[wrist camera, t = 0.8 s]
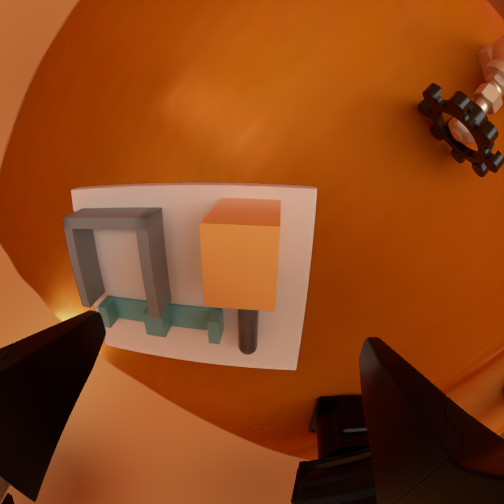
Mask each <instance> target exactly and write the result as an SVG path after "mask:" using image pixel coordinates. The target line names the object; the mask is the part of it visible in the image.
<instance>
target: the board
mask: <svg viewBox="0 0 504 504" xmlns="http://www.w3.org/2000/svg"><path fill="white" fill-rule="evenodd" d="M71 195H72V203H73V210H74V212H76V211H78V210H80V209H82V208H127V207H162V216H163V229H164V240H165V250H166V259H167V268H168V276H169V284H170V292H171V299H172V300H171V302H170V303H172V304H182V305H191V306H202V307H208V306H204V293H203V279H202V264H201V246H200V226H199V223H200V222H201V221H202V220H203V219H204V218H205V217H206V215H207V214H208V213H209V212H210V211H211V210H212V209H213V208H214V207H215V206H216V205H217V204H218V202H219V201H220V200H221V199H222V198H251V199H275V200H281V213H280V240H279V259H278V276H277V291H276V306H275V311H260V310H258V339H257V349H256V351H255V352H254V353H252V354H250V355H246V354H243V353H242V352H241V351H240V350H239V347H238V309H232V308H223V321H224V331H223V334H222V338H221V341H220V344H212V343H209V340H208V330H200V329H191V328H183V327H175V326H172V327H171V328H170V330H169V332H168V334H167V336H166V338H165V337H159V336H152V335H147V333H146V329H145V324H144V322H140V321H134V320H128V319H122V318H119V319H118V320H117V321H116V322H115V324H114V325H113V326H112V327H111V328H108V327H105V329H106V336H105V339H104V340H105V343H106V345H108V346H112V347H116V348H121V349H126V350H130V351H135V352H140V353H146V354H151V355H156V356H162V357H168V358H174V359H181V360H188V361H195V362H202V363H210V364H219V365H228V366H239V367H250V368H264V369H281V370H296V368H297V361H298V355H299V349H300V342H301V335H302V328H303V321H304V314H305V306H306V299H307V291H308V282H309V273H310V264H311V255H312V245H313V234H314V223H315V211H316V198H317V188H316V187H315V186H301V185H283V184H259V183H208V182H195V183H144V184H121V185H104V186H89V187H78V188H75V189H72V190H71ZM93 233H94V239H95V245H96V250H97V256H98V261H99V266H100V271H101V275H102V280H103V284H104V288H105V293H104V294H103V295H102V296H101V297H100V298H99V299H98V300H97V301H96V302H95V303H94V304H93V305H94V309H95V311H97V312H99V310H98V307H97V306H98V305H99V304H100V303H101V302H102V301H103V300H104V299H105V298H106V297H107V296H108V295H110V296H117V297H124V298H131V299H139V300H146V294H145V289H144V283H143V277H142V271H141V264H140V258H139V251H138V243H137V235H136V230H103V229H93ZM213 308H220V307H213Z"/></svg>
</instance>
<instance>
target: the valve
mask: <svg viewBox="0 0 504 504" xmlns="http://www.w3.org/2000/svg"><path fill="white" fill-rule="evenodd" d="M477 57H478V59H479V62H480V65H481V68H482V71H483V75H484V79H485V81H486V83H484V84H481V85H480V86H479V87H478V88H477V90H476V91H475V92H474V93H473V95H474V100H475V102H473V101H471V100H470V99H469V98H468V97H467V96H466V95H465V94H464V93H463V92H460V91H456V92H455V93H454V94H453V96H452V97H451V98H450V99H449V100H443V99H442V98H441V97H440V95H439V94H440V93H441V92H442V88H441V87H440V86H438V85H437V84H435V83H431V84H430V85H429V86H428V87H427V88H426V89H425V90H424V91H423V97H424V99H423V100H422V101H421V102H420V103H419V104H418V106H417V107H418V110H419V111H420V113H421V114H422V115H424V116H425V117H427V118H430V119H431V120H432V121H433V123H434V125H433V126H432V127H431V128H430V132H431V134H432V135H433V136H434V137H435V138H436V139H437V140H442V139H444V140H445V141H446V142H447V143H448V144H449V145H450V146H451V148H452V151H451V155H452V156H453V158H454V159H455V160H456V161H457V162H458V163H463V162H464V161H465V160H466V159H467V160H468V161H470V162H471V164H472V168H473V170H474V171H475V173H476V174H477V175H478V176H480V177H484V176H485V175H486V174H487V172H488V171H489V170H490V171H492V172H494V173H496V172H497V171H498V170H499V169H500V167H501V166H502V165H503V163H504V157H503V155H502V154H501V153H500V152H499V151H497V153H496V154H495V155H494V154H493V153H491V151H492V150H493V147H494V141H495V139H496V138H497V137H498V131H497V129H496V127H495V126H494V125H493V124H492V123H491V122H489V121H488V118H487V115H486V114H495V113H496V112H497V111H498V109H499V108H500V107H501V105H502V104H503V103H502V99H503V100H504V35H503V36H501V37H499V38H498V39H497V40H496V41H495V42H492V43H488V44H486V45H484V47H483V48H482V49H481V50H480V51H479V52H478V53H477ZM442 112H443V113H447V114H450V115H451V116H453V117H451V118H450V119H449V120H448V121H447V122H446V123H445V122H444V119H443V117H442ZM473 139H474V140H475V142H476V144H477V147H478V151H474V150H471V149H470V148H468V147H466V146H465V145H464V144H470V143H471V142H472V140H473ZM462 143H463V144H462Z"/></svg>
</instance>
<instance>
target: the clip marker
mask: <svg viewBox="0 0 504 504" xmlns="http://www.w3.org/2000/svg"><path fill="white" fill-rule="evenodd" d="M152 319H153V324H154V329H155V333H156V336H159V337H165V338H166V336H167V334H168V332H169V330H170V328H171V327H172V326H175V327H183V328H191V329H200V330H208V340H209V343H212V344H220V341H221V338H222V334H223V331H224V321H223V308H213V307H202V306H191V305H182V304H172V303H170V304H169V305H168V307H167V308H166V310H165V312H164V313H163V315H162V317H161V318H160V319H158V318H152Z"/></svg>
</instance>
